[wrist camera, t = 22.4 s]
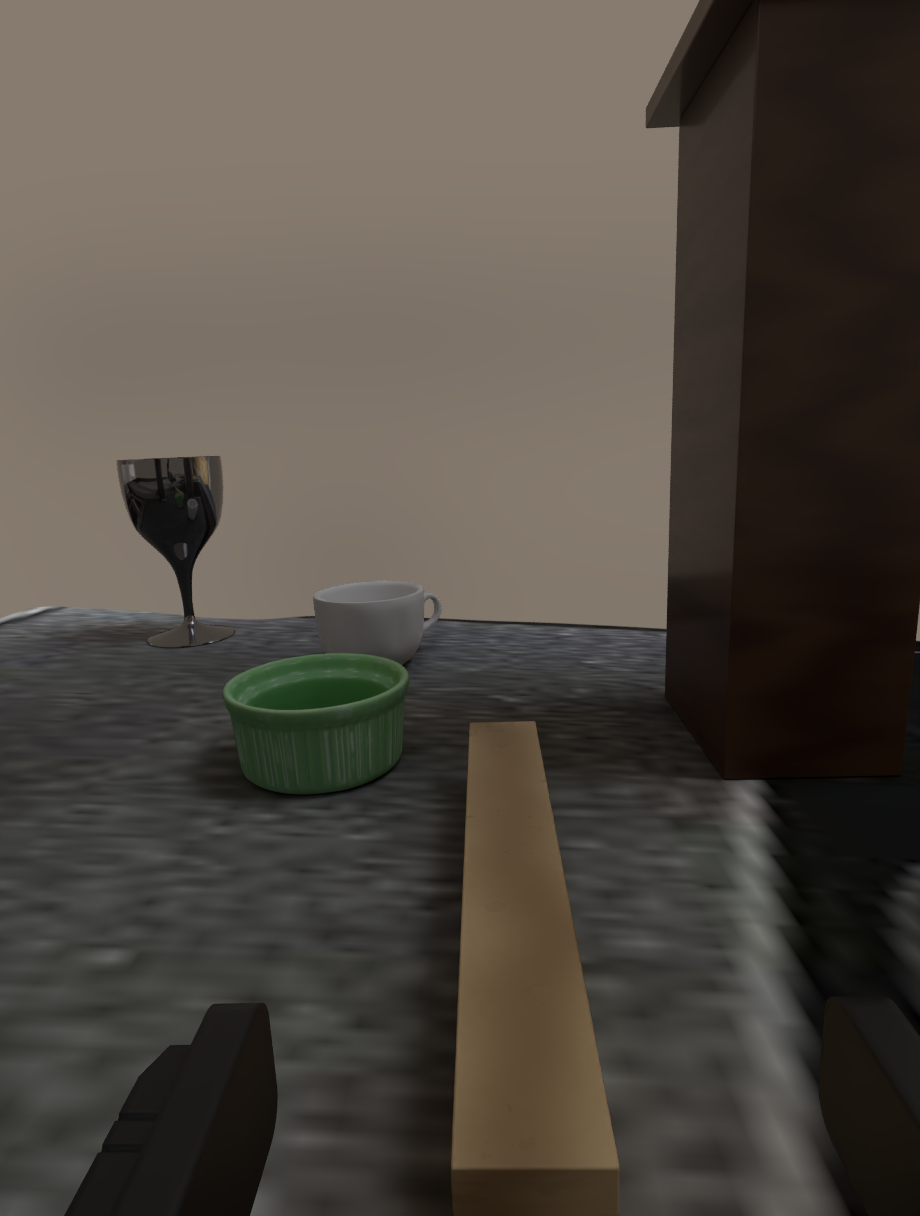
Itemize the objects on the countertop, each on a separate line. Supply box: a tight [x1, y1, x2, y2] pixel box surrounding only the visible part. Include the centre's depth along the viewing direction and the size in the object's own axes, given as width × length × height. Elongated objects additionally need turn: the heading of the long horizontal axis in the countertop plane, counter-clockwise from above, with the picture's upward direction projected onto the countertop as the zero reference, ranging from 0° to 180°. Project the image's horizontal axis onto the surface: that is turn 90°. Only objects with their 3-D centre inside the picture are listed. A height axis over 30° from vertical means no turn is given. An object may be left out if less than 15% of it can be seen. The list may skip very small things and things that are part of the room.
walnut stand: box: [646, 0, 920, 779], centre depth 35 cm, size 11×13×32 cm
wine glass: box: [117, 456, 235, 647], centre depth 61 cm, size 8×8×15 cm
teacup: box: [313, 581, 441, 665], centre depth 53 cm, size 10×8×5 cm
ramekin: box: [223, 653, 409, 794], centre depth 37 cm, size 9×9×4 cm
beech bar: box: [451, 721, 620, 1216], centre depth 24 cm, size 3×21×3 cm, turn 178°
